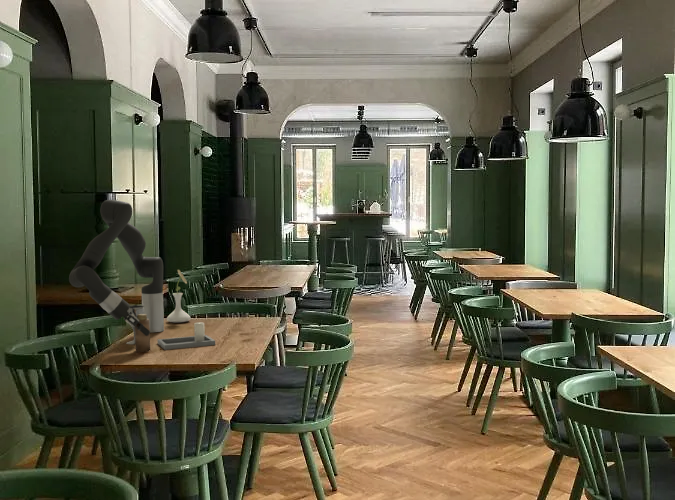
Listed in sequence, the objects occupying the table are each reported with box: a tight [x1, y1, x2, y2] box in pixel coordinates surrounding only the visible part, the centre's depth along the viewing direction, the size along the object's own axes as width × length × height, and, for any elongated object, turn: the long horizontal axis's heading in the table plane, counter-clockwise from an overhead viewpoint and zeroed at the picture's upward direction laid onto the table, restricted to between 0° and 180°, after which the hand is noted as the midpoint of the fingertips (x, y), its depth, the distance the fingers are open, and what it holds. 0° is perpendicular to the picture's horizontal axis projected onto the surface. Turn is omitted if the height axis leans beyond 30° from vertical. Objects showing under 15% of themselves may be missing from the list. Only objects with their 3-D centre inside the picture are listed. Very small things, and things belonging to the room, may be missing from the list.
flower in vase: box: [166, 269, 192, 323], centre depth 358 cm, size 13×11×25 cm
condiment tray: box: [156, 334, 216, 351], centre depth 297 cm, size 14×20×2 cm
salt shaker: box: [193, 321, 206, 342], centre depth 300 cm, size 4×4×8 cm
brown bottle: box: [135, 314, 151, 353], centre depth 290 cm, size 6×6×14 cm
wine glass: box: [125, 304, 144, 345], centre depth 306 cm, size 8×8×15 cm
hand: (147, 332), depth 291 cm, fingers closed on brown bottle, 5 cm apart
